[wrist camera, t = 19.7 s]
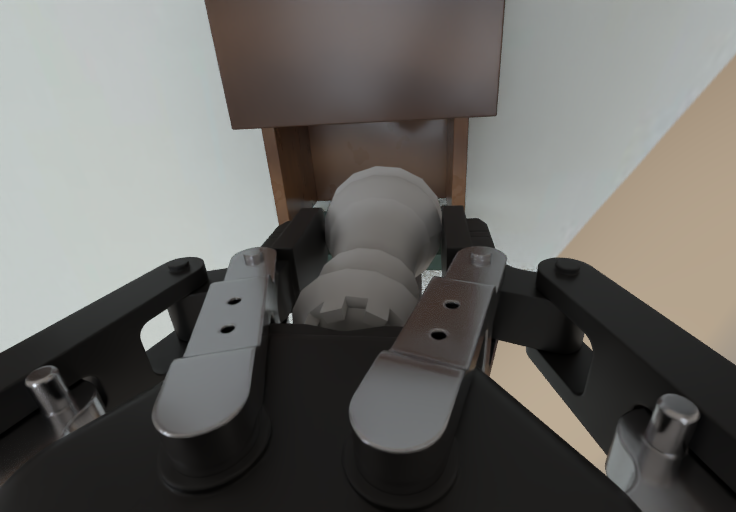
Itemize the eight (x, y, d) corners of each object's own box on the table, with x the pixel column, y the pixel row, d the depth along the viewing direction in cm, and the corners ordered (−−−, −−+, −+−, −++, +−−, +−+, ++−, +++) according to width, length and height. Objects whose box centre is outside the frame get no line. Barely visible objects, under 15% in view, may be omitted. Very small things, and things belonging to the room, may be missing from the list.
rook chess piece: (438, 155, 14) (451, 256, 7) (446, 264, 16) (463, 429, 9) (319, 169, 15) (225, 274, 8) (341, 272, 17) (280, 429, 10)
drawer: (460, 281, 35) (469, 340, 28) (316, 280, 37) (289, 335, 30) (471, 37, 27) (487, 32, 20) (282, 53, 29) (233, 53, 22)
